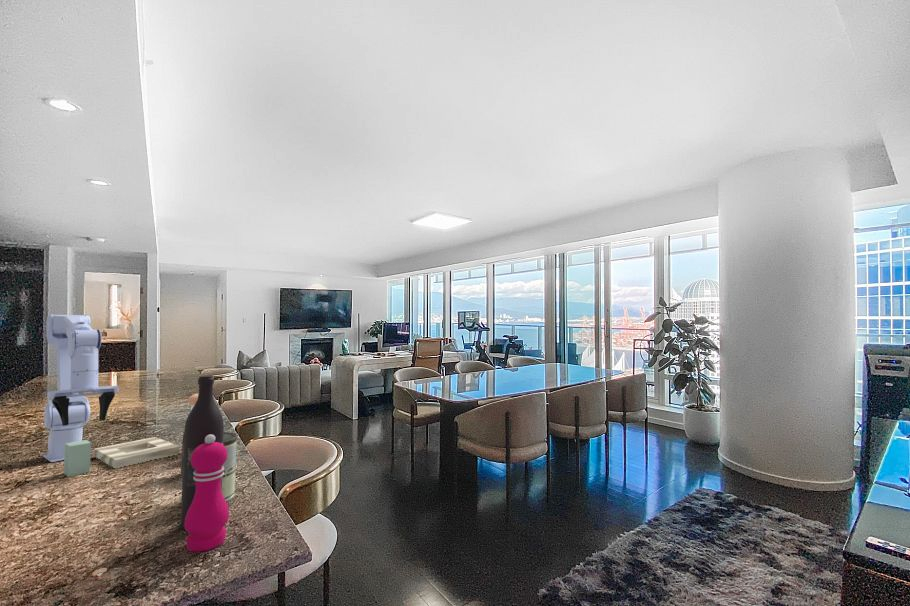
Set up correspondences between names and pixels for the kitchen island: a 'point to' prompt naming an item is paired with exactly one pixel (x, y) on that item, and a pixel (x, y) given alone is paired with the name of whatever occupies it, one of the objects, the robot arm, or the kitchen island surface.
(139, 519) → the kitchen island surface
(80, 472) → the peg
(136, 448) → the board with square hole
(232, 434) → the coffee can
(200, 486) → the pepper mill
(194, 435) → the wine bottle
